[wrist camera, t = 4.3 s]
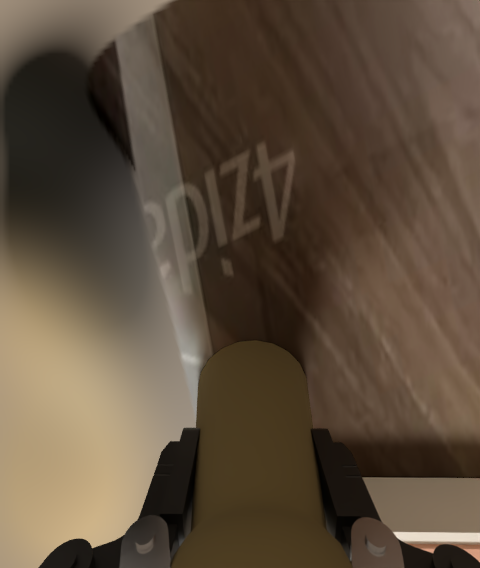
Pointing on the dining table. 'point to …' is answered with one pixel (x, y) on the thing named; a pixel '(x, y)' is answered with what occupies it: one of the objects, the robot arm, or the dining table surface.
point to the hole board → (430, 510)
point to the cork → (256, 467)
